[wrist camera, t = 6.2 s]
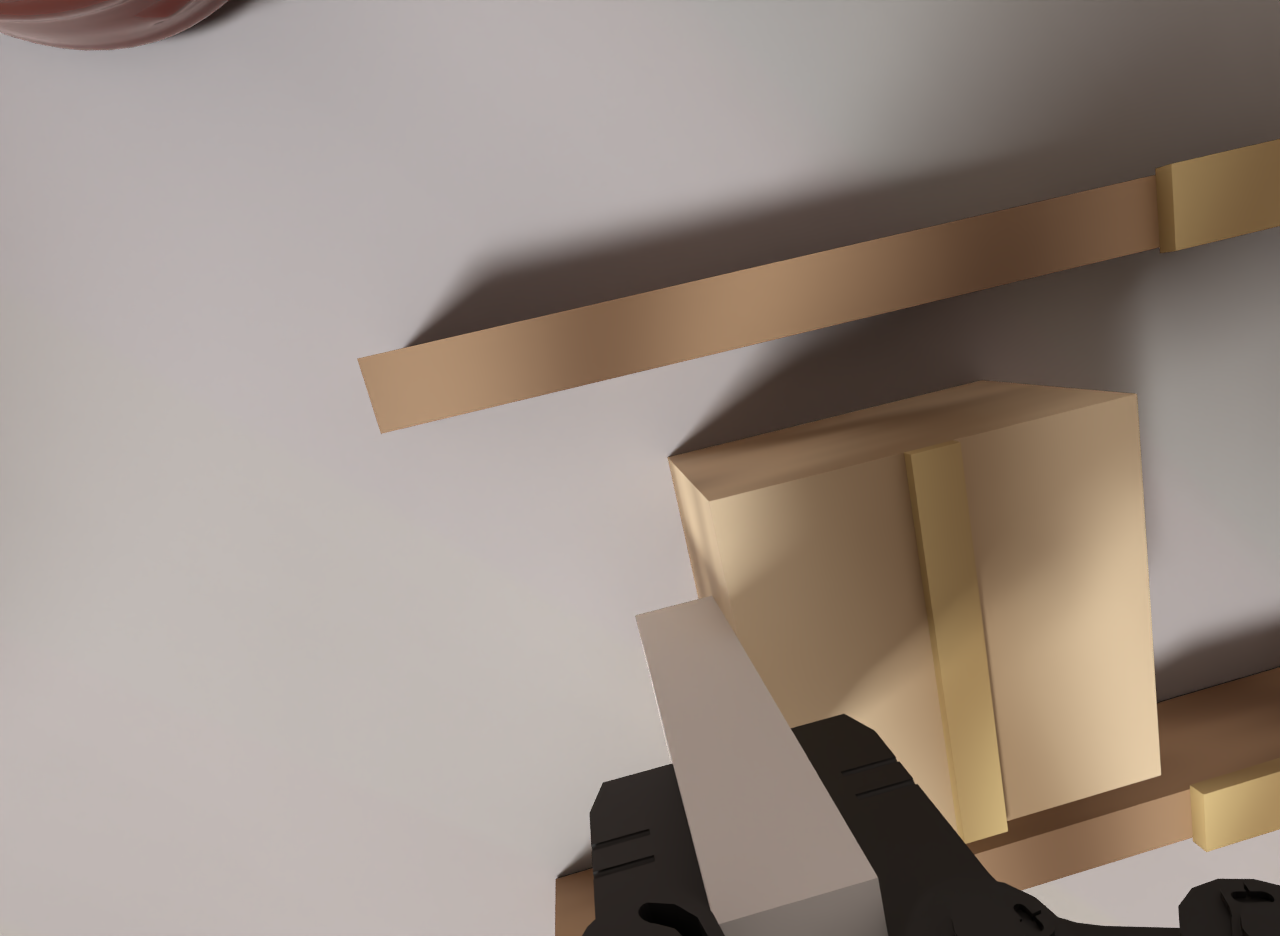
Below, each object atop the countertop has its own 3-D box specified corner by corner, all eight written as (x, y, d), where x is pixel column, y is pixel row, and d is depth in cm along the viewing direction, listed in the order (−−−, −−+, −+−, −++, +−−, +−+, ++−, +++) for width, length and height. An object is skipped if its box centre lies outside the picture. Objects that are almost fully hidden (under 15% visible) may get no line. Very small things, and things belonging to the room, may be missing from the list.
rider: (730, 746, 15) (793, 895, 11) (666, 456, 14) (711, 504, 10) (1012, 667, 16) (1171, 782, 12) (979, 379, 14) (1148, 395, 10)
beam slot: (569, 924, 15) (571, 1050, 13) (394, 350, 13) (349, 353, 10) (1374, 684, 17) (1530, 750, 14) (1381, 122, 14) (1579, 70, 11)
